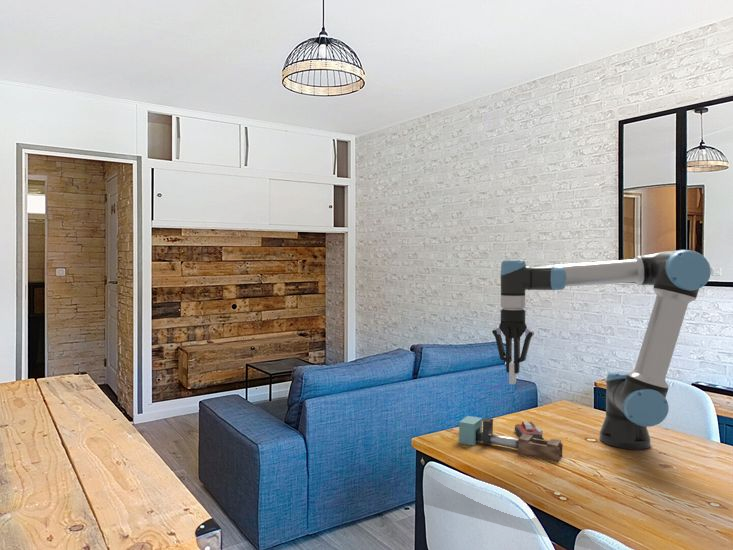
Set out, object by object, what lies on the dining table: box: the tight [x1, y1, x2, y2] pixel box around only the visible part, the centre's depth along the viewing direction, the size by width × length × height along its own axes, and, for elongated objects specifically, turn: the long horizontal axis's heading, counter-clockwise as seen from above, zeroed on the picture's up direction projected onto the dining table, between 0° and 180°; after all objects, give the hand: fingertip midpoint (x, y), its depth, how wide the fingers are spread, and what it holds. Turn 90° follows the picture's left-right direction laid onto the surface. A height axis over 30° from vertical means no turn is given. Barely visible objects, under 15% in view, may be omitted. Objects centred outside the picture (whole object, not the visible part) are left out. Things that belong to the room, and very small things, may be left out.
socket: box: [458, 415, 483, 446], centre depth 175 cm, size 5×8×7 cm, turn 149°
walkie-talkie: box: [514, 421, 545, 440], centre depth 184 cm, size 9×4×20 cm
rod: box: [476, 417, 532, 450], centre depth 170 cm, size 20×4×8 cm, turn 59°
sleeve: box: [517, 434, 564, 462], centre depth 164 cm, size 12×6×5 cm, turn 59°
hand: (512, 383), depth 168 cm, fingers closed
